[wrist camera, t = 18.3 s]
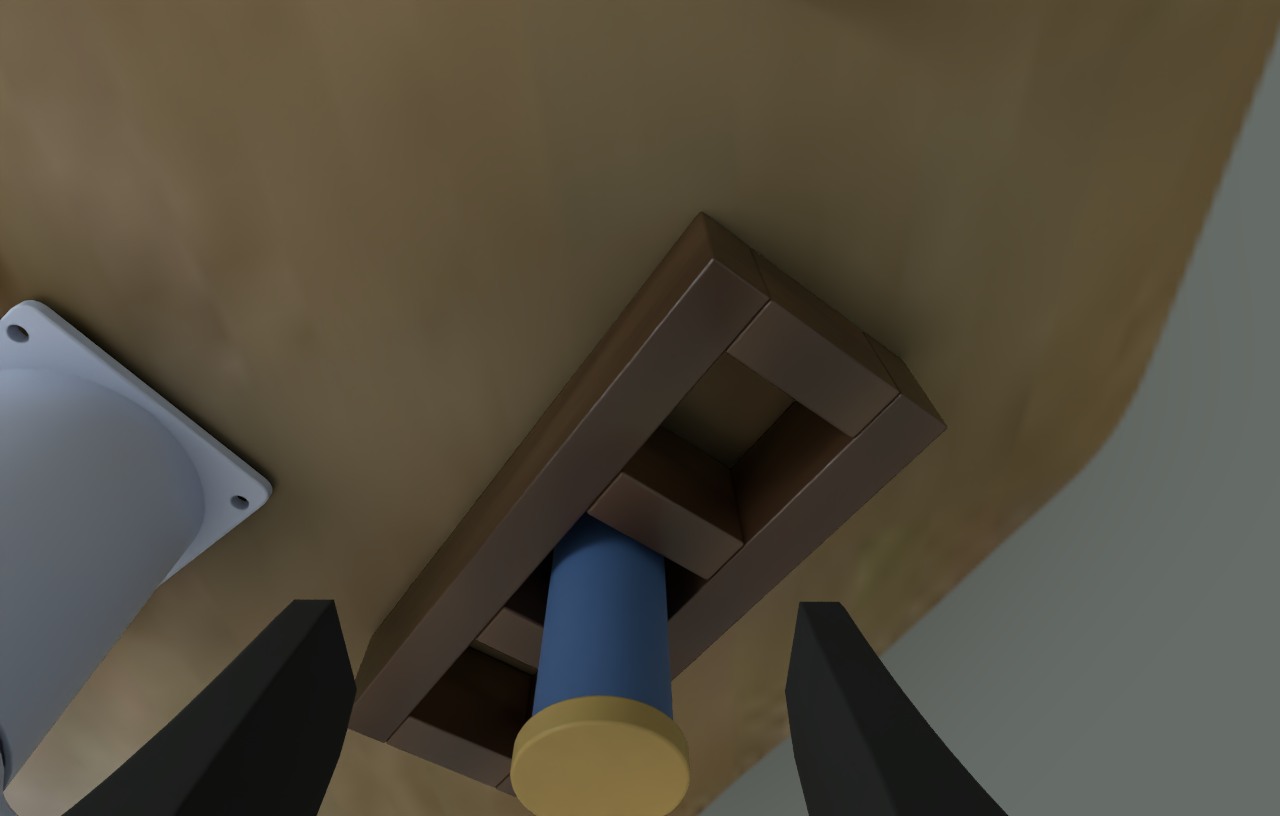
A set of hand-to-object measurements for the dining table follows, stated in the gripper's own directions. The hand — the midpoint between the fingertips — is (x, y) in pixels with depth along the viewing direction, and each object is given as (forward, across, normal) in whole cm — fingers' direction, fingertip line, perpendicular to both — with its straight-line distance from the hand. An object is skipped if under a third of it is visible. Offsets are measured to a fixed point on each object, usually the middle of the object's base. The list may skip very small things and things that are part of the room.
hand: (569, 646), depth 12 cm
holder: (+10, 0, +6) cm, 12 cm away
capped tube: (+10, 0, +6) cm, 12 cm away
